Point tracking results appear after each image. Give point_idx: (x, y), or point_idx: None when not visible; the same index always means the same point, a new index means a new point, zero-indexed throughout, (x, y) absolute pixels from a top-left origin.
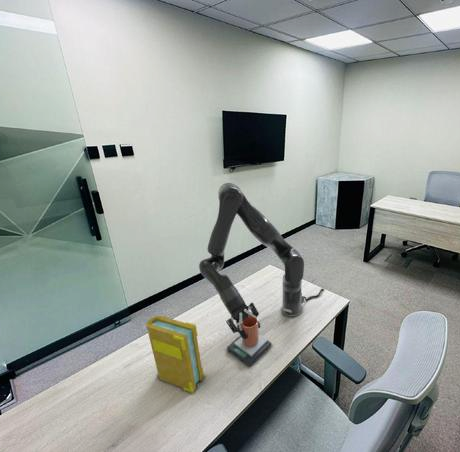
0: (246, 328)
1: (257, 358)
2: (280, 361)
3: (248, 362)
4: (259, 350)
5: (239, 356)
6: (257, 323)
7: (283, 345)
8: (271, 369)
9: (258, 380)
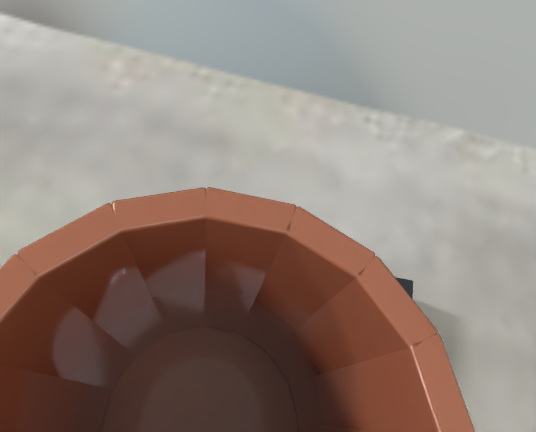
0: (443, 383)
1: None
2: (226, 106)
3: (411, 295)
4: None
5: None
6: (162, 194)
7: (59, 143)
8: (320, 134)
9: (441, 174)
